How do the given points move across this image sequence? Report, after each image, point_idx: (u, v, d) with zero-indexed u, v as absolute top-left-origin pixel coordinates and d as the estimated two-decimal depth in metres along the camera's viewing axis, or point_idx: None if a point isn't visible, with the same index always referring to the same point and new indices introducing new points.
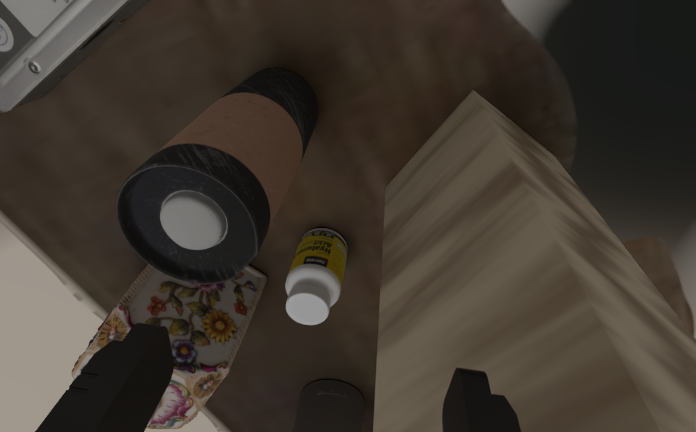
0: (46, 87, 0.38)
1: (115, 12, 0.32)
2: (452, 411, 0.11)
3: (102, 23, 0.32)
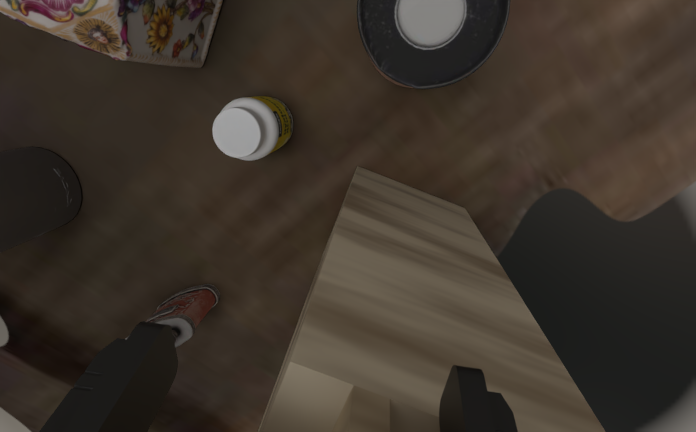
0: None
1: None
2: (449, 408, 0.11)
3: None
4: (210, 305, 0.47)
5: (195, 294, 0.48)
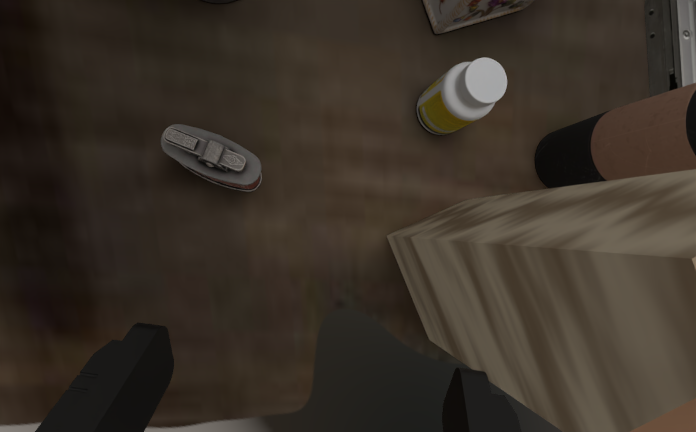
0: (657, 20, 0.50)
1: None
2: (452, 411, 0.11)
3: None
4: (255, 185, 0.39)
5: None
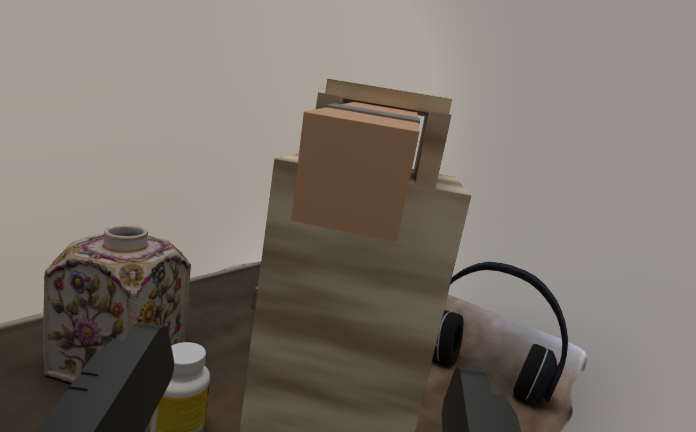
0: None
1: None
2: (452, 411, 0.11)
3: None
4: None
5: None
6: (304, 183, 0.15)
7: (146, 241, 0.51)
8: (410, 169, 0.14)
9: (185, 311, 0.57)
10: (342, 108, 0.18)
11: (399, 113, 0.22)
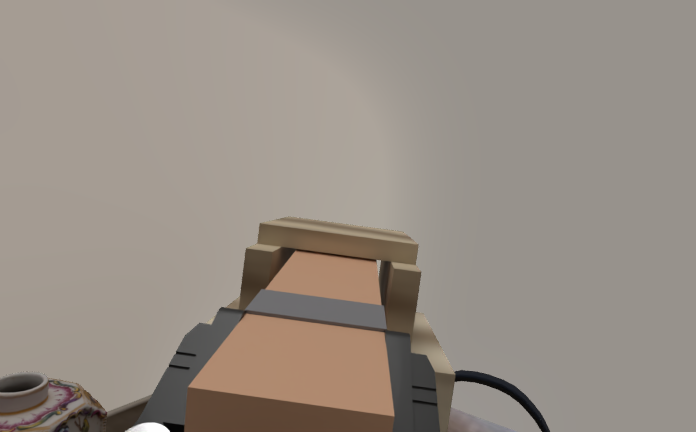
0: None
1: None
2: None
3: None
4: None
5: None
6: None
7: (45, 393, 0.40)
8: None
9: None
10: (269, 313, 0.12)
11: (354, 283, 0.16)
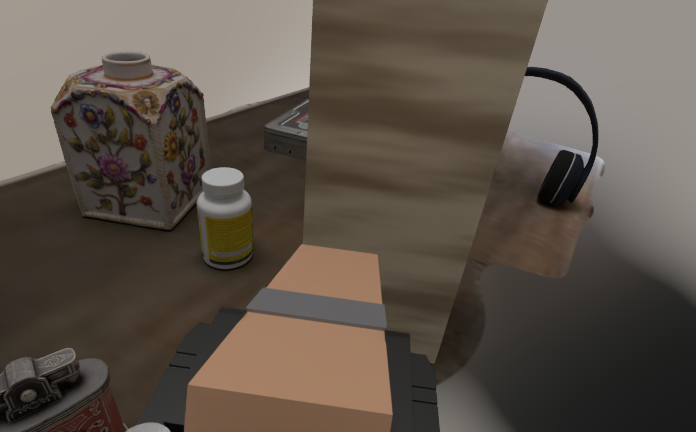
0: (281, 145, 0.69)
1: None
2: None
3: None
4: (121, 425, 0.27)
5: None
6: None
7: (151, 67, 0.46)
8: None
9: (206, 145, 0.55)
10: (270, 312, 0.12)
11: (355, 281, 0.16)
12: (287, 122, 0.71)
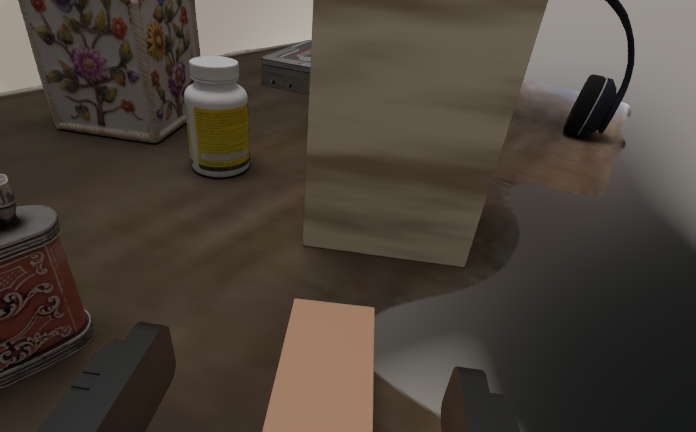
0: (281, 78, 0.62)
1: None
2: (451, 410, 0.11)
3: None
4: (79, 303, 0.21)
5: None
6: None
7: None
8: None
9: None
10: None
11: (348, 406, 0.16)
12: (287, 56, 0.64)
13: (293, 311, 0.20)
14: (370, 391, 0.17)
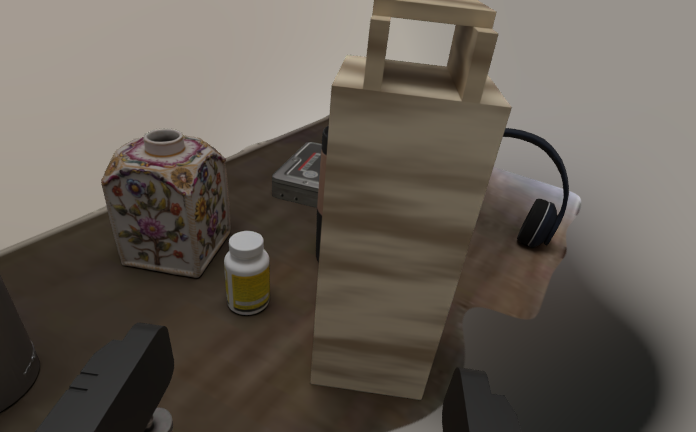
0: (288, 193, 0.76)
1: None
2: (452, 411, 0.11)
3: None
4: None
5: None
6: None
7: (183, 143, 0.54)
8: None
9: (227, 200, 0.63)
10: None
11: None
12: (292, 171, 0.78)
13: None
14: None
